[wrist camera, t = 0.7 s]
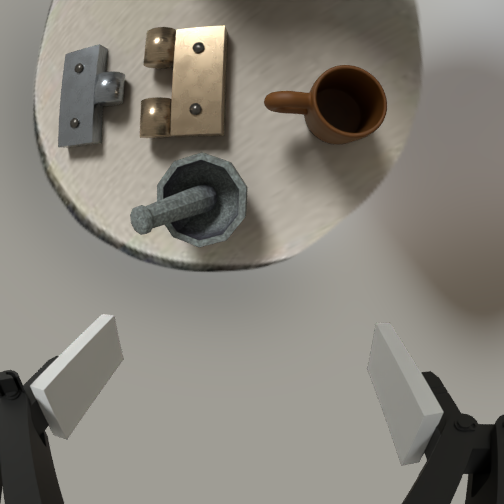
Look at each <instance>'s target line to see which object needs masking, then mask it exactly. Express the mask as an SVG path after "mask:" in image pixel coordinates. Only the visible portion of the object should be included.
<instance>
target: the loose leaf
mask: <svg viewBox="0 0 504 504" xmlns="http://www.w3.org/2000/svg"><path fill="white" fill-rule="evenodd" d="M107 55H108V49H107V48H105V47H103V46H102V45H100V44H99V45H95V46H92V47H88V48H85V49H81V50H78V51H74V52H71V53H68V54H66V56H65V63H64V71H63V79H62V89H61V100H60V115H59V137H58V147H75V146H82V145H90V144H98V143H102V115H103V106H113V105H119V104H122V103H123V95H124V81H125V74H123V73H120V72H106V64H107Z"/></svg>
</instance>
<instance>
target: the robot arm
mask: <svg viewBox="0 0 504 504" xmlns="http://www.w3.org/2000/svg"><path fill="white" fill-rule="evenodd" d="M123 360H124V358H123V354H122V349H121V345H120V341H119V336H118V331H117V326H116V321H115V316H114V315H105V314H102V315H101V316H100V317H99V318H98V319H97V320H96V321H95V322H93V323H92V324H91V325H90V326H89V327H88V328H87V329H86V330H85V331H84V332H83V333H82V334H81V335H80V336H79V337H78V338H77V339H76V340H75V341H74V342H73V343H72V344H71V345H70V346H69V347H68V348H67V349H66V350H65V351H64V352H63V353H62V354H61V355H60V356H56V357H54V358H52V359H50V360H48V362H46V363H45V364H44V365H43V367H42V368H40V369H39V370H38V372H37V373H35V374H34V375H33V376H32V377H31V378H30V379H29V380H28V382H26V383H25V384H24V385H22V382H21V380H20V378H19V375H18V373H16V372H15V371H12V370H7V371H3V372H0V502H1V493H2V486H3V493H4V500H5V504H64V501H63V498H62V494H61V491H60V487H59V484H58V480H57V477H56V472H55V468H54V464H53V460H52V456H51V451H50V446H49V442H48V436H47V434H46V432H45V429H46V428H47V427H48V425H49V427H50V429H51V431H52V433H53V435H55V436H58V437H61V438H64V439H68V438H69V436H70V435H71V433H72V432H73V430H74V429H75V427H76V426H77V425H78V423H79V421H80V420H81V419H82V417H83V416H84V414H85V413H86V411H87V410H88V409H89V407H90V406H91V404H92V403H93V401H94V400H95V399H96V397H97V396H98V394H99V393H100V392H101V390H102V389H103V387H104V386H105V385H106V383H107V382H108V380H109V379H110V378H111V376H112V375H113V373H114V372H115V371H116V369H117V368H118V366H119V365H120V364H121V362H122V361H123ZM367 370H368V372H369V375H370V378H371V380H372V383H373V385H374V388H375V391H376V394H377V396H378V399H379V402H380V405H381V407H382V410H383V413H384V416H385V418H386V422H387V424H388V427H389V430H390V433H391V436H392V439H393V442H394V445H395V448H396V451H397V454H398V457H399V460H400V463H401V465H407V464H413V463H417V462H420V460H421V457H422V456H423V454H424V453H425V455H426V458H427V462H426V464H425V465H424V467H423V469H422V470H421V472H420V474H419V476H418V478H417V480H416V481H415V483H414V485H413V486H412V488H411V490H410V491H409V493H408V495H407V496H406V498H405V499H404V501H403V503H402V504H450V503H451V501H452V499H453V496H454V494H455V492H456V489H457V487H458V485H459V483H460V480H461V478H462V475H463V474H468V484H467V492H466V500H465V504H504V415H502V416H500V417H499V418H498V419H497V421H496V423H495V424H478V423H477V421H476V420H475V419H474V418H473V417H472V416H470V415H467V414H461V412H460V411H459V409H458V407H457V406H456V404H455V403H454V401H453V399H452V398H451V396H450V395H449V393H448V392H447V390H446V388H445V387H444V385H443V384H442V382H441V380H440V379H439V377H437V376H436V375H435V374H433V373H432V372H431V371H430V372H422V373H421V372H420V370H419V368H418V367H417V365H416V363H415V362H414V360H413V358H412V357H411V355H410V354H409V352H408V350H407V349H406V347H405V345H404V344H403V342H402V341H401V339H400V337H399V336H398V334H397V333H396V331H395V330H394V328H393V326H392V325H391V323H390V322H389V323H376V324H375V330H374V336H373V342H372V347H371V352H370V358H369V362H368V367H367Z"/></svg>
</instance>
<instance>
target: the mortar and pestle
mask: <svg viewBox="0 0 504 504" xmlns="http://www.w3.org/2000/svg"><path fill="white" fill-rule="evenodd" d="M246 204H247V186H246V184H245V183H244V181H243V179H242V178H241V176H240V175H239V173H238V172H237V170H236V169H235V167H234V166H233V164H232V163H231V162H228V161H225V160H223V159H220V158H217V157H214V156H211V155H208V154H206V153H199V154H195V155H192V156H189V157H186V158H183V159H180V160H177V161H174V162H173V163H172V165H171V166H170V168H169V169H168V170H167V172H166V173H165V175H164V176H163V177H162V179H161V180H160V182H159V183H158V185H157V202H155V203H152V204H150V205H148V206H143V205H141V206H138V207H135V208H133V209H132V212H131V215H130V217H131V224H132V226H133V228H134V230H135V231H136V232H138V233H139V234H141V235H142V234H147V233H149V232H151V230H152V228H155V227H158V226H161V225H165V226H166V227H167V229H168V230H169V232H170V233H171V235H172V236H173V237H174V238H177V239H179V240H182V241H184V242H187V243H190V244H192V245H195V246H197V247H202V246H206V245H210V244H214V243H217V242H221V241H225V240H227V239H228V238H229V236H230V235H231V234H232V233H233V231H234V230H235V229H236V228H237V227H238V225H239V224H240V223H241V222H242V220H243V219H244V218H245V216H246Z"/></svg>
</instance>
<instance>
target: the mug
mask: <svg viewBox="0 0 504 504" xmlns="http://www.w3.org/2000/svg"><path fill="white" fill-rule="evenodd" d="M264 104H265V106H266V108H267V109H269V110H271V111H273V112H279V113H293V114H303V115H304V117H305V121H306V124H307V126H308V128H309V129H310V131H311V132H312V133H313V134H314V135H315V136H316V137H317V138H319V139H320V140H322V141H324V142H327V143H330V144H345V143H349V142H352V141H356V140H359V139H362V138H364V137H366V136H368V135H370V134H371V133H373V132H374V131H375V130H377V129H378V128H379V127H380V125H381V124H382V122H383V121H384V118H385V116H386V111H387V100H386V96H385V93H384V90H383V88H382V86H381V85H380V83H379V82H378V81H377V79H376V78H375V77H374V76H372V75H371V74H370V73H369V72H367V71H365V70H363V69H361V68H359V67H355V66H350V65H340V66H335V67H333V68H330V69H328V70H327V71H325V72H324V73H323V74H322V75H321V76H320V77H319V78H318V79H317V80H316V81H315V83H314V84H313V86H312V88H311V91H310V93H303V92H295V91H278V92H273V93H270V94H269V95H267V96H266V98H265V101H264Z"/></svg>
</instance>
